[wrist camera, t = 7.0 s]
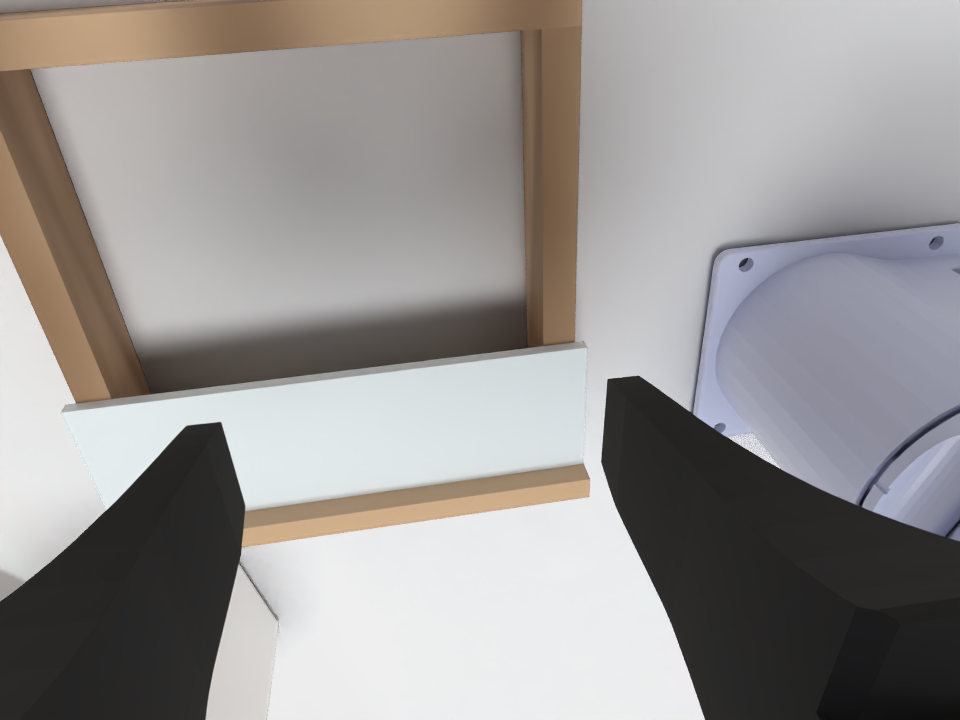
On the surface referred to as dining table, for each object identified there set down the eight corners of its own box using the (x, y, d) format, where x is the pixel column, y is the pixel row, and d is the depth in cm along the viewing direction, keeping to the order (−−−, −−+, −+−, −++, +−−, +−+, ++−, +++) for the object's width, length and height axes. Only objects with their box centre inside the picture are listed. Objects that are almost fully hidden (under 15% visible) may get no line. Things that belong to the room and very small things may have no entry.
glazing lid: (583, 341, 22) (595, 361, 21) (579, 473, 24) (589, 497, 23) (65, 405, 20) (49, 429, 19) (126, 538, 23) (116, 565, 22)
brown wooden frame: (556, -26, 18) (582, -21, 16) (554, 377, 25) (572, 418, 23) (-35, 15, 17) (-93, 27, 15) (133, 430, 24) (110, 480, 22)
